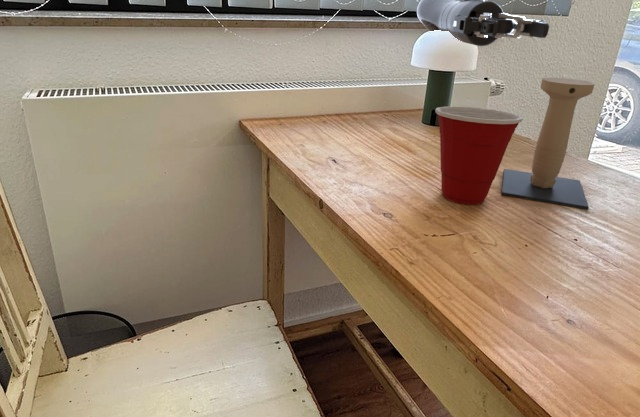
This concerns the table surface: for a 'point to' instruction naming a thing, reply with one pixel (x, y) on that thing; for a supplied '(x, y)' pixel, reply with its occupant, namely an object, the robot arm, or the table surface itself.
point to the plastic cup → (472, 150)
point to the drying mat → (560, 193)
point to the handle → (556, 127)
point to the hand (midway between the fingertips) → (521, 29)
